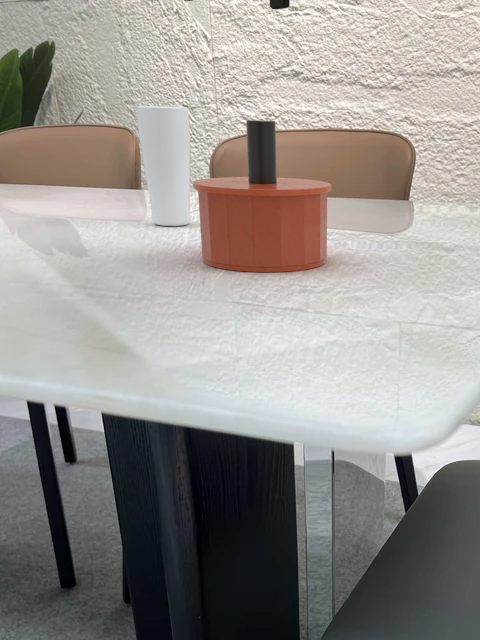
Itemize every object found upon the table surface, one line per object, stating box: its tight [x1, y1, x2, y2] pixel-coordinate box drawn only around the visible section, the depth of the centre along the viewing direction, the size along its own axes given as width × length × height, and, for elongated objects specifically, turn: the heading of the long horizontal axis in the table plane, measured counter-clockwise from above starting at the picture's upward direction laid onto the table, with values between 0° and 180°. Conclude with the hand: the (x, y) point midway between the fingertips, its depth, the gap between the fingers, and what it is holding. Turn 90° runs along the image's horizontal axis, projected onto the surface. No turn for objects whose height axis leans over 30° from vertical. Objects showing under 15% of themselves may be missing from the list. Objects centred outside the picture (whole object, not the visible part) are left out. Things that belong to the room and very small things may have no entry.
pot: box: [197, 190, 328, 273], centre depth 84 cm, size 14×14×8 cm
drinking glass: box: [136, 105, 192, 227], centre depth 106 cm, size 7×7×15 cm
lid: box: [192, 119, 332, 196], centre depth 81 cm, size 15×15×7 cm
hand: (237, 4), depth 78 cm, fingers open, 9 cm apart
